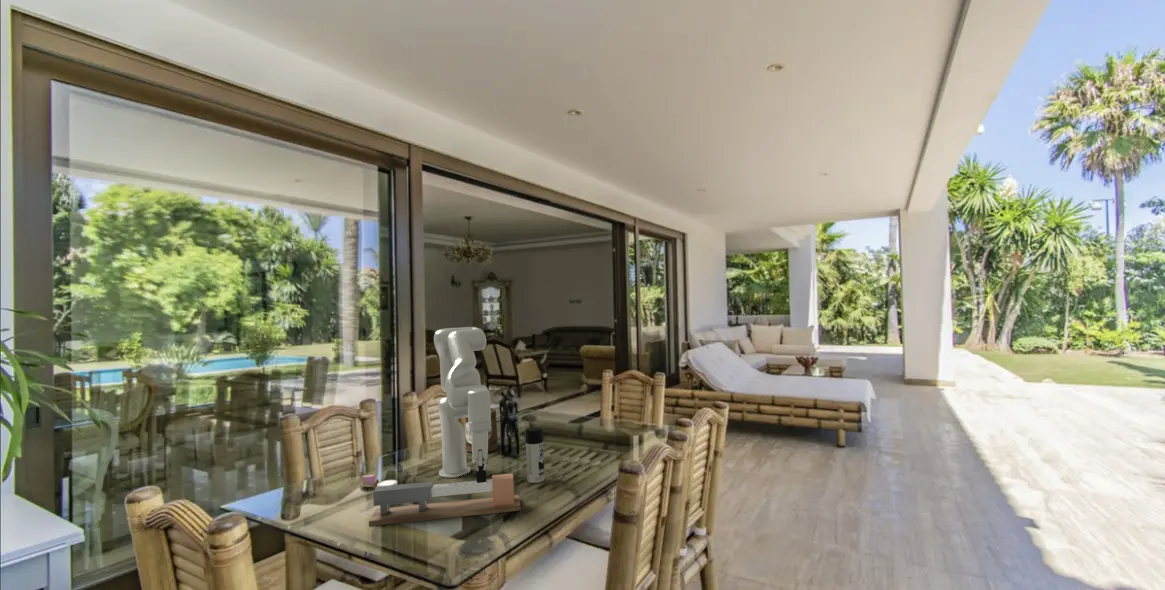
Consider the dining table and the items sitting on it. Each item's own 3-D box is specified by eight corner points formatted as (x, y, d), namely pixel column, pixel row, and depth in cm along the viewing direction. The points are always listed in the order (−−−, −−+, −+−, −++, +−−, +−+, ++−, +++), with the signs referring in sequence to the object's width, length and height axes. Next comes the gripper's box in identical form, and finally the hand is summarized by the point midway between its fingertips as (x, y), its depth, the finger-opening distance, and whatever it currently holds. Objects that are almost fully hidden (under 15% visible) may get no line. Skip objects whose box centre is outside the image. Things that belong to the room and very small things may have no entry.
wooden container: (461, 453, 239) (459, 406, 239) (473, 444, 254) (471, 399, 254) (491, 453, 237) (489, 405, 237) (501, 444, 251) (500, 399, 251)
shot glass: (378, 507, 178) (378, 487, 178) (376, 501, 184) (375, 481, 184) (399, 503, 182) (398, 483, 182) (396, 497, 188) (396, 478, 188)
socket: (493, 500, 178) (492, 475, 178) (513, 497, 179) (512, 473, 179) (493, 505, 173) (492, 480, 173) (514, 503, 174) (513, 478, 174)
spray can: (541, 484, 196) (539, 431, 196) (524, 483, 197) (522, 430, 197) (546, 477, 202) (544, 426, 202) (530, 477, 203) (528, 426, 204)
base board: (376, 513, 174) (376, 508, 174) (519, 499, 182) (519, 494, 182) (368, 526, 164) (368, 521, 164) (520, 510, 172) (520, 505, 172)
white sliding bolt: (423, 494, 173) (422, 467, 174) (504, 486, 178) (503, 460, 178) (421, 498, 170) (420, 471, 170) (504, 490, 174) (503, 463, 174)
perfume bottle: (356, 493, 193) (356, 481, 193) (363, 482, 205) (363, 471, 205) (390, 490, 196) (390, 478, 196) (395, 479, 208) (395, 468, 208)
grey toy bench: (377, 511, 171) (376, 486, 171) (433, 506, 174) (432, 481, 174) (373, 517, 167) (373, 491, 167) (431, 511, 170) (430, 486, 170)
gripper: (469, 420, 182) (471, 472, 182) (467, 432, 166) (469, 489, 166) (491, 419, 184) (493, 470, 184) (490, 431, 167) (492, 487, 167)
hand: (481, 479), depth 175 cm, fingers closed on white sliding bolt, 4 cm apart
